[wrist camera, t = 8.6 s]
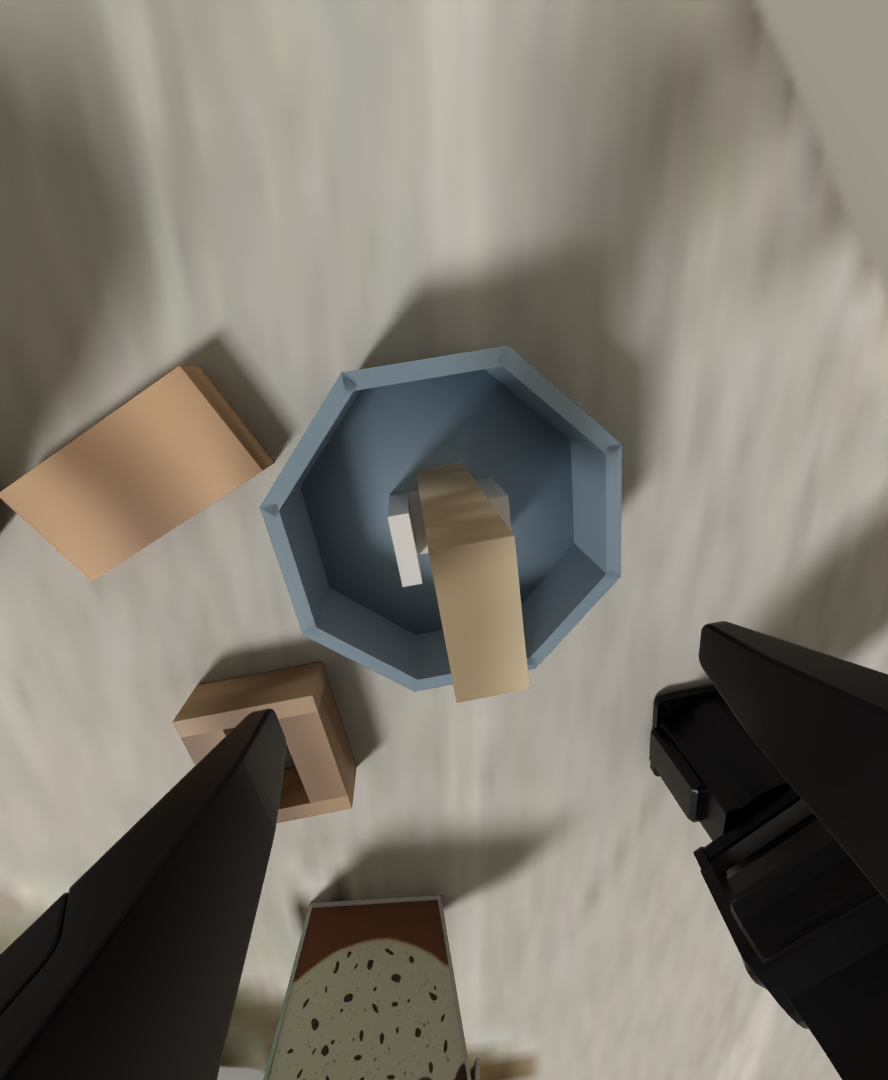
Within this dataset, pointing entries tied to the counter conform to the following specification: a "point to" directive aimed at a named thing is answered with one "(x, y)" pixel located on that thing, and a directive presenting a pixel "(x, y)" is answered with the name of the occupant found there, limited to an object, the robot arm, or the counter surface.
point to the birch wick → (474, 583)
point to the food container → (372, 996)
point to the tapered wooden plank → (138, 472)
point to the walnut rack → (304, 721)
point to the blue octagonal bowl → (396, 515)
